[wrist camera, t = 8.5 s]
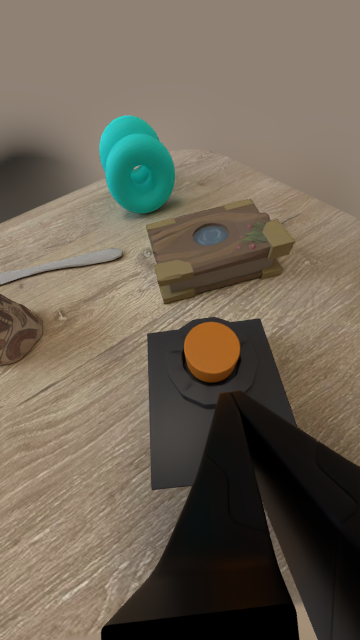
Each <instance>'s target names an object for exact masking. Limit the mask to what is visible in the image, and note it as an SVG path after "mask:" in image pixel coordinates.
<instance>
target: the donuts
mask: <svg viewBox="0 0 360 640" xmlns="http://www.w3.org/2000/svg"><path fill="white" fill-rule="evenodd" d="M99 152H100V159H101V163H102V166H103V169H104V171H105V174H106V181H107V185H108V188H109V191H110V193H111V194H112V196H113V198H114V199H115V200H116V201H117V202H118V203H119V204H120V205H121V206H122V207H123V208H125V209H127V210H129V211H131V212H135V213H149V212H152V211H155V210H157V209H158V208H160V207H161V206H162V205H163V204H164V203H165V202H166V201H167V200H168V198H169V196H170V195H171V193H172V190H173V187H174V182H175V169H174V164H173V160H172V158H171V156H170V154H169V152H168V150H167V149H166V148H165V146H164V145H163V144H162V143H161V142H160V141H159V138H158V136H157V134H156V133H155V131H154V130H153V129H152V128H151V126H150V125H149V124H147V123H146V122H145V121H144V120H142V119H140V118H138V117H135V116H122V117H118V118H116V119H114V120H113V121H112V122H110V123H109V124H108V126H107V127H106V128H105V130H104V132H103V134H102V137H101V141H100V148H99ZM138 165H140V167H139V168H137V169H134V168H135V167H136V166H138ZM133 169H134V170H133Z"/></svg>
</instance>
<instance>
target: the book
mask: <svg viewBox="0 0 360 640" xmlns="http://www.w3.org/2000/svg"><path fill="white" fill-rule="evenodd" d="M146 228H147V232H148V236H149V239H150V243H151V247H152V250H153V254H154V256H155V259H156V262H157V264H156V265H154V269H155V272H156V276H157V280H158V284H159V287H160V290H161V294H162V298H163V301H164V304H166V303H168V302H171V301H175V300H180V299H185V298H189V297H193V296H195V294H198V293H201V292H205V291H209V290H213V289H216V288H220V287H224V286H227V285H231V284H235V283H239V282H242V281H246V280H250V279H254V278H257V277H261V279H264V278H268V277H272V276H275V275H279V274H280V273H281V271H282V269H283V268H282V267H281V266H280V264H279V263H278V261H277V260H276V259H275V258H276V257H280V256H284V255H288V254H289V253H290V251H291V249H292V247H293V245H294V243H295V240H294V239H293V238H292V237H291V235H290V234H289V233H288V232H287V231H286V229H285V228H284V227H283V226H282V224H281V223H280V222H279V221H278V219H277V220H273V221H271V220H270V218H269V215H268V214H267V213H259V211H258V209H257V208H256V206H255V205H254V203H253V201H252V200H251V199H247V200H242V201H238V202H234V203H230V204H227V205H223V206H221V207H216V208H212V209H208V210H204V211H200V212H196V213H192V214H188V215H184V216H180V217H176V218H171V219H167V220H162V221H159V222H156V223H152V224H148V225H146Z"/></svg>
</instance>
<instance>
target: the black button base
mask: <svg viewBox="0 0 360 640" xmlns="http://www.w3.org/2000/svg"><path fill="white" fill-rule="evenodd" d="M206 322H217V323H221V324H223V325H225V326H227V327H229V328H230V329H231V330H232V331H233V332H234V333H235V334H236V336H237V338H238V340H239V343H240V355H239V358H238V360H237V363H236V365H235V367H234V370H233V372H232V373H231V374H230V375H229V376H228V377H227V378H226V379H224V380H222V381H220V382H215V383H209V382H204V381H201V380H199V379H198V378H196V377H195V376H194V375H193V374H192V373H191V372H190V370H189V368H188V366H187V362H186V357H185V352H184V342H185V339H186V336H187V335H188V333H189V332H190V331H191V330H192V329H193V328H194V327H196V326H197V325H199V324H202V323H206ZM147 338H148V375H149V412H150V449H151V485H152V490H158V489H167V488H176V487H184V486H193V483H194V481H195V478H196V475H197V472H198V469H199V465H200V462H201V458H202V455H203V451H204V448H205V444H206V441H207V437H208V433H209V430H210V426H211V423H212V419H213V415H214V412H215V408H216V404H217V401H218V397H219V394H220V393H223V392H230V393H231V392H232V391H239V390H240V391H243V392H244V393H246V394H247V395H249V396H250V397H252V398H253V399H255V400H256V401H258V402H259V403H261V404H262V405H264V406H265V407H267V408H268V409H270V410H272V411H273V412H275V413H276V414H278V415H279V416H281V417H282V418H284V419H285V420H287V421H288V422H290V423H291V424H293V425H294V426H296V427H297V425H296V422H295V419H294V416H293V413H292V410H291V407H290V404H289V401H288V399H287V396H286V393H285V390H284V387H283V384H282V381H281V378H280V375H279V372H278V369H277V367H276V364H275V361H274V358H273V355H272V352H271V349H270V346H269V343H268V340H267V337H266V335H265V332H264V329H263V326H262V323H261V320H260V318H259V319H252V320H245V321H237V322H229V321H225V320H222V319H219V318H216V317H211V318H203V319H196V320H192V321H191V322H189V323H188V324H186V325H185V326H183V327H182V328H180V329H179V330H171V331H164V332H157V333H150V334H147Z"/></svg>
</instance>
